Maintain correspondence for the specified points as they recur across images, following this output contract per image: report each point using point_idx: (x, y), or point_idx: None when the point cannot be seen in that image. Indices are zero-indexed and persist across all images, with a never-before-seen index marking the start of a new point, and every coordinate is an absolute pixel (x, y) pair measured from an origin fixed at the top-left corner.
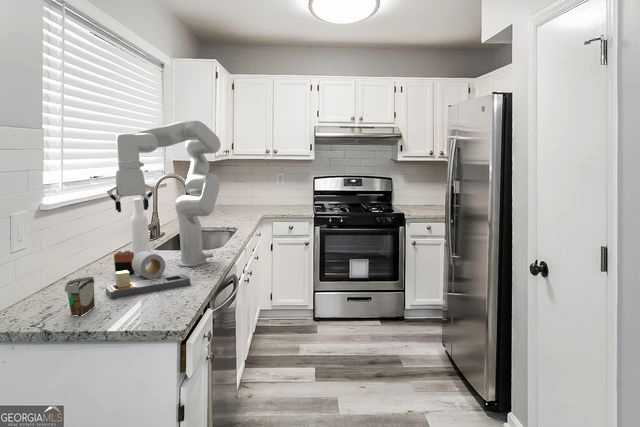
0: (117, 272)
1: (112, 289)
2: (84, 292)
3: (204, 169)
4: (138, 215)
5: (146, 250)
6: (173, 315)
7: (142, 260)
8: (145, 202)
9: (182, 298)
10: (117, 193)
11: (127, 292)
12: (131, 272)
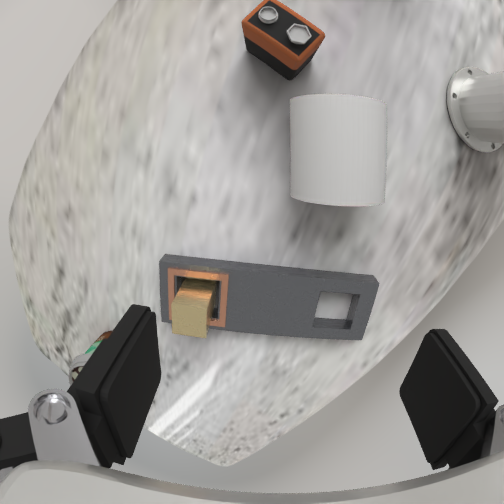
0: (175, 317)
1: (169, 303)
2: None
3: None
4: None
5: None
6: (236, 442)
7: (305, 197)
8: (424, 446)
9: (287, 397)
10: (15, 477)
11: None
12: (292, 78)
